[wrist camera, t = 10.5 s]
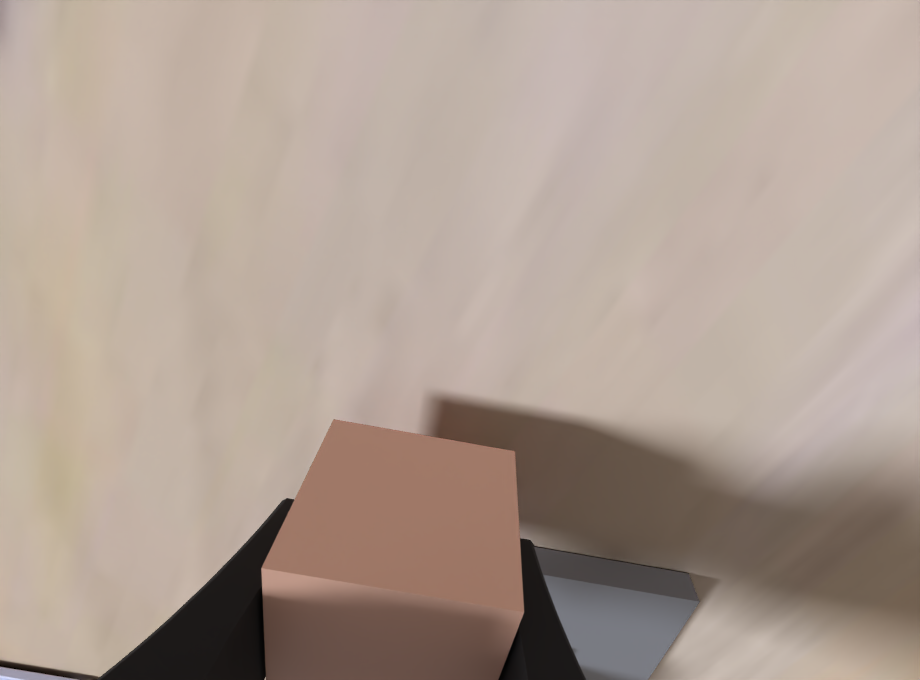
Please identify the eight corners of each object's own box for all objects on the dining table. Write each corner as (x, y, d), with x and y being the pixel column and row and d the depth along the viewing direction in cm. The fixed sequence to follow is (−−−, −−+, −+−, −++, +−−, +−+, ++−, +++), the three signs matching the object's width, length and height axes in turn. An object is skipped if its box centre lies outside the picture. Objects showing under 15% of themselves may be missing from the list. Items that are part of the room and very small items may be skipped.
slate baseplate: (302, 705, 22) (290, 744, 21) (308, 507, 16) (291, 545, 15) (578, 750, 22) (584, 792, 21) (688, 573, 16) (705, 617, 15)
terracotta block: (326, 542, 13) (267, 704, 10) (333, 419, 11) (261, 567, 8) (480, 568, 14) (475, 738, 10) (514, 451, 11) (524, 612, 8)
